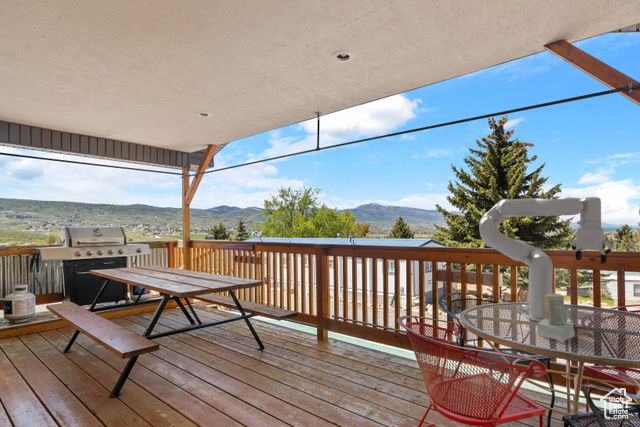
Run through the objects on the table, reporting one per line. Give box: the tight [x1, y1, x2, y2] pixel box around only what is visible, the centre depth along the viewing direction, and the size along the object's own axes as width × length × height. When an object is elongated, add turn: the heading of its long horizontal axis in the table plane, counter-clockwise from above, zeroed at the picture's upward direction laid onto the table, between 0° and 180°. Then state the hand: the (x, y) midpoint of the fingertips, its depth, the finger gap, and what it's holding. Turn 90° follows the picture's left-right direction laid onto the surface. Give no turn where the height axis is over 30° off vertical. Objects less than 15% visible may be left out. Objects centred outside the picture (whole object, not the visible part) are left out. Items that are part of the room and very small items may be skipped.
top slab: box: [536, 319, 574, 337], centre depth 152 cm, size 10×10×3 cm
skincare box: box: [544, 293, 566, 324], centre depth 152 cm, size 6×4×12 cm
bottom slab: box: [536, 329, 575, 342], centre depth 153 cm, size 10×10×3 cm
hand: (590, 261), depth 163 cm, fingers open, 9 cm apart
